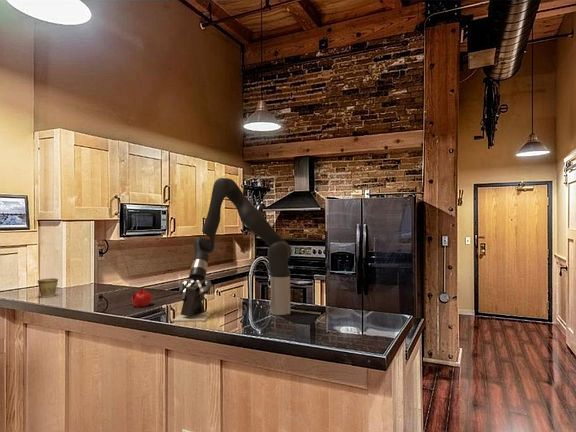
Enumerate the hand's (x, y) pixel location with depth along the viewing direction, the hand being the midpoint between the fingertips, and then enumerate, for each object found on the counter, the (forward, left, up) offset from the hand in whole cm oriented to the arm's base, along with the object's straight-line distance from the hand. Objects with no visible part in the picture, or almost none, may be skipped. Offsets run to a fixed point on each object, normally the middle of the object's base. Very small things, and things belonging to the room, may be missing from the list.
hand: (192, 300), depth 170 cm
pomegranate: (+33, -26, -8) cm, 43 cm away
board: (0, -1, -8) cm, 8 cm away
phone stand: (0, -1, -6) cm, 6 cm away
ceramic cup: (+98, -52, -8) cm, 111 cm away
